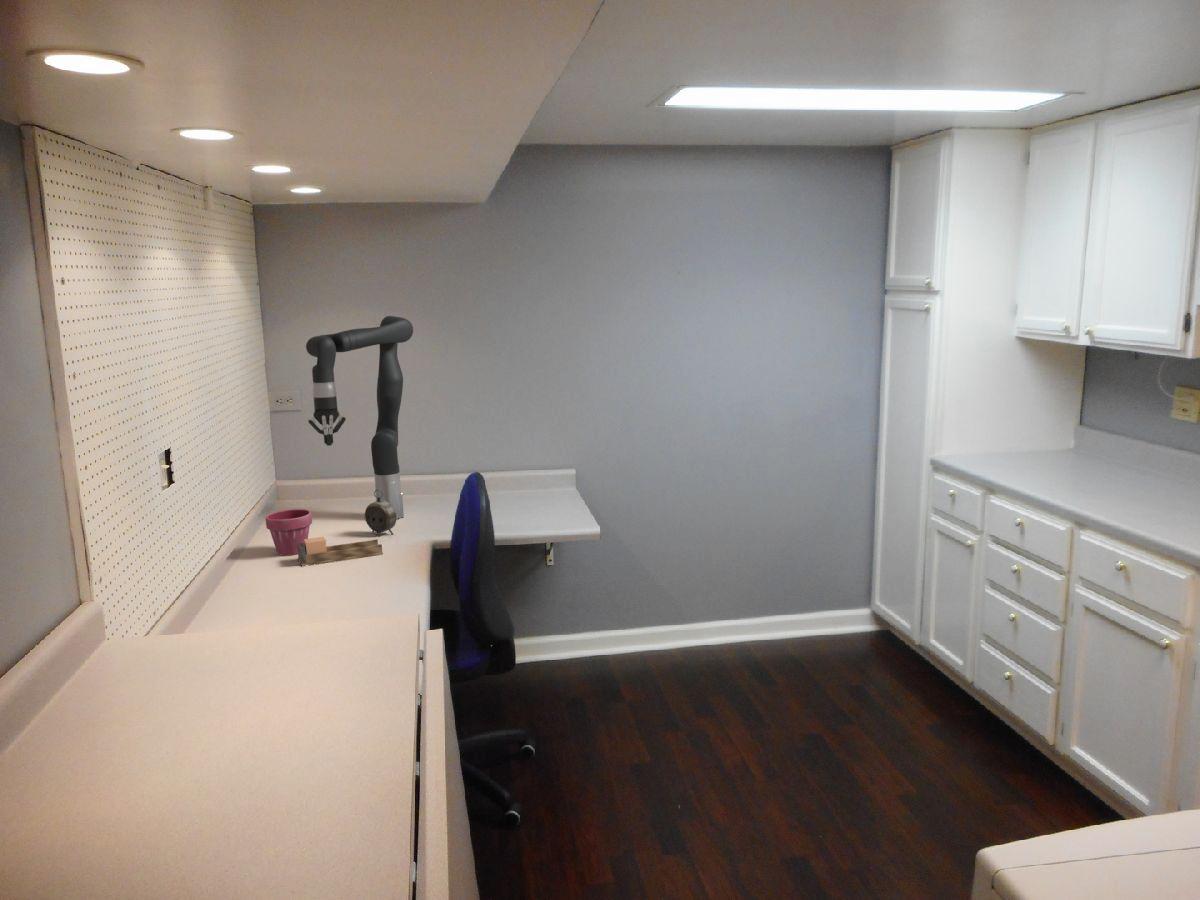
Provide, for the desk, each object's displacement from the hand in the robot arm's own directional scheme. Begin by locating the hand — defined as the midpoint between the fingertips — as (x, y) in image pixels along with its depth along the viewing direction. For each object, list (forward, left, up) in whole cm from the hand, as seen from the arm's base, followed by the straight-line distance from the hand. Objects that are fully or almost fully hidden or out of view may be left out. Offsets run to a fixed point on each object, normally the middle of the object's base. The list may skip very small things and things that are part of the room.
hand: (328, 445), depth 296 cm
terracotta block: (+11, +28, -32) cm, 44 cm away
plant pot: (+16, +14, -32) cm, 39 cm away
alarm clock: (-14, +8, -32) cm, 36 cm away
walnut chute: (+3, +28, -32) cm, 43 cm away
